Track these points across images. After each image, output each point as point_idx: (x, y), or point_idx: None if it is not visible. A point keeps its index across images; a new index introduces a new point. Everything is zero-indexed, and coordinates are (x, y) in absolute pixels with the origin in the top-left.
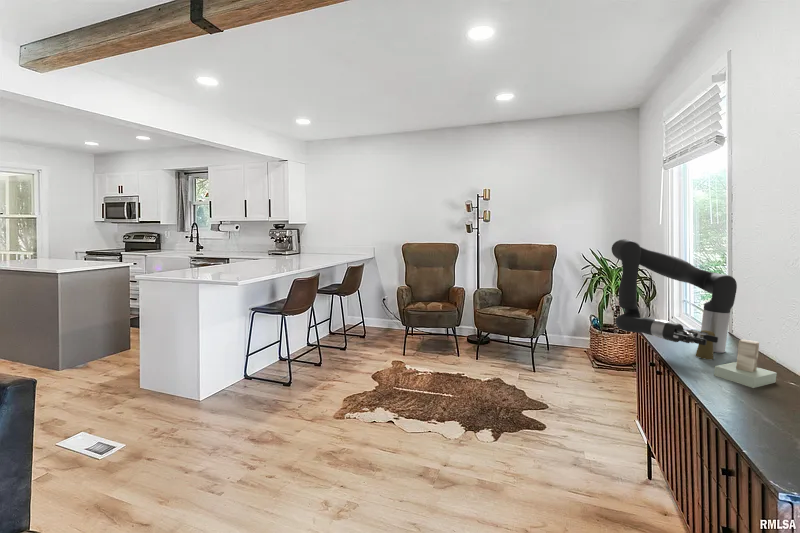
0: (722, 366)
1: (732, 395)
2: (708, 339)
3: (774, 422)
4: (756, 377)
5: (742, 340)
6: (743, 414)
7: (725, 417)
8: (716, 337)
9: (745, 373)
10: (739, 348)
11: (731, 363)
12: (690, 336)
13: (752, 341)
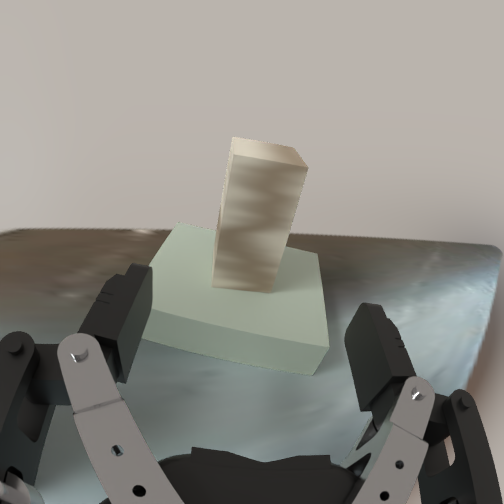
0: (300, 328)
1: (415, 298)
2: (132, 353)
3: (431, 251)
4: (306, 251)
5: (277, 159)
6: (456, 275)
7: (485, 285)
8: (149, 270)
9: (300, 270)
10: (296, 204)
11: (195, 314)
12: (428, 412)
13: (248, 144)
